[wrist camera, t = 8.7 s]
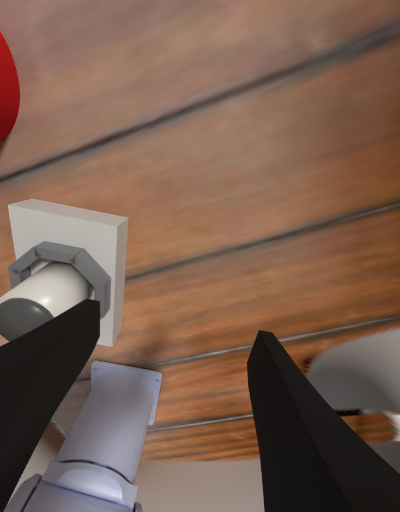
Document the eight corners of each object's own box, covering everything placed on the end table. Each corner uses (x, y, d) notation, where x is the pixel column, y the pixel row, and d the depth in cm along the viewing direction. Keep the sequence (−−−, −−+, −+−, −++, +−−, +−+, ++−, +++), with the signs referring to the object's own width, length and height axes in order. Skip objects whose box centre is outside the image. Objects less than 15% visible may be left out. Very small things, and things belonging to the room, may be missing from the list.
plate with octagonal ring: (121, 328, 24) (106, 357, 21) (44, 314, 24) (17, 340, 21) (128, 217, 19) (110, 231, 16) (32, 198, 19) (-7, 208, 16)
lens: (94, 309, 20) (62, 355, 16) (44, 302, 20) (-4, 347, 16) (91, 264, 18) (53, 302, 14) (35, 257, 18) (-21, 292, 14)
